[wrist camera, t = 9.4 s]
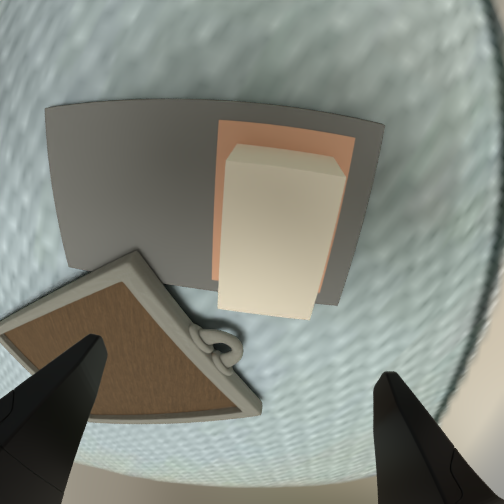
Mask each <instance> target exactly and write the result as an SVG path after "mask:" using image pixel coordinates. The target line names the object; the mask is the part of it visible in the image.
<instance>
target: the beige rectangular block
mask: <svg viewBox="0 0 504 504" xmlns="http://www.w3.org/2000/svg"><path fill="white" fill-rule="evenodd" d="M345 181H346V176H345V175H344V173H343V171H342V170H341V168H340V166H339V165H338V163H337V162H336V160H335V158H334V157H331V156H325V155H319V154H313V153H307V152H300V151H294V150H287V149H279V148H272V147H264V146H255V145H246V144H237V145H236V146H235V148H234V149H233V151H232V152H231V153H230V155H229V157H228V158H227V160H226V164H225V178H224V193H223V209H222V225H221V244H220V263H219V285H218V309H224V310H231V311H238V312H246V313H253V314H261V315H269V316H277V317H286V318H294V319H304V320H310V317H311V314H312V310H313V307H314V304H315V300H316V297H317V293H318V290H319V286H320V283H321V279H322V275H323V272H324V268H325V264H326V260H327V257H328V253H329V249H330V245H331V241H332V237H333V233H334V229H335V225H336V221H337V216H338V212H339V208H340V203H341V199H342V195H343V190H344V186H345Z"/></svg>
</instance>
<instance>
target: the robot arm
mask: <svg viewBox="0 0 504 504" xmlns="http://www.w3.org/2000/svg"><path fill="white" fill-rule="evenodd" d="M107 356H108V353H107V349H106V346H105V344H104V341H103V338H102V337H101V336H100V335H96V334H88V335H87V336H85V337H84V338H83V339H81V340H80V341H78V342H77V343H76V344H74V345H73V346H71V347H70V348H69V349H67V350H66V351H65V352H63V353H62V354H60V355H59V356H58V357H56V358H55V359H54V360H52V361H51V362H50V363H48V364H47V365H45V366H44V367H43V368H41V369H40V370H39V371H37V372H36V373H35V374H33V375H32V376H31V377H29V378H28V379H27V380H25V381H24V382H23V383H21V384H20V385H19V386H17V387H16V388H15V389H14V390H12V391H10V392H9V393H8V394H7V395H5V396H4V397H2V398H1V399H0V504H61V502H62V499H63V495H64V491H65V488H66V484H67V481H68V478H69V474H70V471H71V468H72V465H73V462H74V459H75V456H76V453H77V450H78V447H79V444H80V441H81V438H82V435H83V432H84V429H85V427H86V424H87V421H88V418H89V416H90V413H91V410H92V408H93V405H94V402H95V400H96V397H97V394H98V390H99V386H100V382H101V379H102V375H103V371H104V368H105V364H106V361H107ZM373 434H374V446H375V457H376V471H377V486H378V504H504V500H503V499H501V498H500V497H498V496H497V495H496V494H495V493H494V492H493V491H492V490H491V489H490V488H489V487H488V486H487V485H486V484H485V482H484V481H482V479H481V478H480V477H479V476H478V475H477V474H476V473H475V472H474V470H473V469H472V468H471V467H470V466H469V465H468V464H467V462H466V461H465V460H464V458H463V457H462V456H461V454H460V453H459V452H458V450H457V449H456V448H454V445H453V444H452V443H451V441H450V440H449V439H448V437H447V436H446V435H445V433H444V432H443V431H442V429H441V428H440V427H439V425H438V424H437V423H436V422H435V420H434V419H433V418H432V416H431V415H430V414H429V413H428V411H427V410H426V409H425V407H424V406H423V405H422V404H421V402H420V401H419V400H418V399H417V397H416V396H415V395H414V393H413V392H412V391H411V390H410V388H409V387H408V386H407V385H406V383H405V382H404V381H403V380H402V378H401V377H400V376H399V375H398V374H397V373H396V372H394V371H386V372H384V373H383V374H382V375H381V377H380V378H379V380H378V381H377V383H376V384H375V386H374V390H373Z"/></svg>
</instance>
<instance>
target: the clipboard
mask: <svg viewBox="0 0 504 504" xmlns="http://www.w3.org/2000/svg"><path fill="white" fill-rule="evenodd" d="M88 334H96V335H100V336H101V337H102V338H103V341H104V344H105V346H106V349H107V353H108V356H107V361H106V364H105V368H104V371H103V375H102V379H101V382H100V386H99V390H98V394H97V397H96V400H95V402H94V405H93V408H92V410H91V413H90V416H89V418H88V422H93V423H112V424H171V423H191V422H205V421H217V420H227V419H236V418H244V417H252V416H258V415H261V413H262V402H261V400H260V399H259V398H258V397H257V396H256V395H255V394H254V393H253V392H252V391H251V389H250V388H249V387H248V386H247V385H246V384H245V383H244V382H243V381H242V380H241V378H240V377H239V376H238V375H237V374H236V373H235V372H234V371H233V367H232V366H233V365H234V364H236V363H237V362H238V361H239V360H240V359H241V358H242V356H243V346H242V344H241V342H240V340H239V339H238V338H237V337H235V336H234V335H232V334H230V333H227V332H224V331H221V330H214V329H202V328H201V327H200V326H198V325H196V324H193V322H192V321H191V320H190V319H189V317H188V316H187V315H186V314H185V312H184V311H183V310H182V309H181V307H180V306H179V305H178V304H177V302H176V301H175V300H174V299H173V297H172V296H171V295H170V293H169V292H168V291H167V289H166V288H165V287H164V286H163V284H162V283H161V282H160V280H159V279H158V278H157V276H156V275H155V274H154V272H153V271H152V270H151V268H150V267H149V265H148V264H147V263H146V261H145V260H144V259H143V257H142V256H141V255H140V253H139V252H138V251H134V252H132V253H130V254H127V255H125V256H123V257H121V258H119V259H117V260H115V261H113V262H111V263H109V264H107V265H105V266H103V267H101V268H99V269H97V270H95V271H93V272H91V273H89V274H87V275H85V276H83V277H81V278H79V279H77V280H75V281H73V282H72V283H70V284H68V285H66V286H64V287H62V288H60V289H58V290H56V291H54V292H52V293H51V294H49V295H47V296H45V297H43V298H41V299H39V300H38V301H36V302H34V303H32V304H30V305H28V306H27V307H25V308H23V309H21V310H19V311H18V312H16V313H14V314H12V315H10V316H9V317H7V318H5V319H3V320H2V321H0V343H1V344H2V345H3V346H4V347H5V348H6V349H7V350H8V351H9V352H10V354H11V355H12V356H13V357H14V358H15V359H16V360H17V361H18V362H19V363H20V364H21V365H22V366H23V367H24V368H25V369H26V370H27V371H29V372H30V373H31V374H32V375H33V374H35V373H36V372H37V371H39V370H40V369H41V368H43V367H44V366H45V365H47V364H48V363H50V362H51V361H52V360H54V359H55V358H56V357H58V356H59V355H60V354H62V353H63V352H65V351H66V350H67V349H69V348H70V347H71V346H73V345H74V344H76V343H77V342H78V341H80V340H81V339H83V338H84V337H85V336H87V335H88ZM215 343H225V344H227V345H229V346H230V347H231V348H232V350H231V351H229V352H226V353H222V352H220V351H218V350H215V349H214V348H213V344H215Z"/></svg>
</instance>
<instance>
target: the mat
mask: <svg viewBox="0 0 504 504" xmlns="http://www.w3.org/2000/svg"><path fill="white" fill-rule="evenodd" d="M45 123H46V138H47V149H48V159H49V167H50V175H51V182H52V189H53V195H54V201H55V207H56V212H57V218H58V223H59V228H60V232H61V237H62V241H63V246H64V250H65V254H66V258H67V262H68V266H69V267H71V268H76V269H82V270H87V271H92V272H93V271H95V270H97V269H99V268H101V267H103V266H105V265H107V264H109V263H111V262H113V261H115V260H117V259H119V258H121V257H123V256H125V255H127V254H130V253H132V252H134V251H138V252H139V253H140V255H141V256H142V257H143V259H144V260H145V261H146V263H147V264H148V265H149V267H150V268H151V270H152V271H153V272H154V274H155V275H156V276H157V278H158V279H159V280H160V282H161V283H163V284H169V285H176V286H182V287H189V288H196V289H203V290H210V291H217V292H218V285H219V263H220V244H221V225H222V209H223V193H224V178H225V164H226V160H227V158H228V157H229V155H230V153H231V152H232V151H233V149H234V148H235V146H236V145H237V144H246V145H255V146H264V147H272V148H279V149H287V150H294V151H300V152H307V153H313V154H319V155H325V156H331V157H334V158H335V160H336V162H337V163H338V165H339V166H340V168H341V170H342V171H343V173H344V175H345V176H346V181H345V186H344V190H343V195H342V199H341V203H340V208H339V212H338V216H337V221H336V225H335V229H334V233H333V237H332V241H331V245H330V249H329V253H328V257H327V260H326V264H325V268H324V272H323V275H322V279H321V283H320V286H319V290H318V293H317V297H316V300H315V303H316V304H325V305H335V306H338V303H339V300H340V297H341V294H342V291H343V288H344V285H345V282H346V278H347V275H348V272H349V269H350V266H351V262H352V259H353V256H354V252H355V249H356V245H357V242H358V238H359V235H360V231H361V228H362V224H363V220H364V216H365V213H366V209H367V205H368V201H369V197H370V193H371V189H372V184H373V180H374V176H375V172H376V167H377V163H378V158H379V153H380V148H381V144H382V139H383V133H384V128H385V125H383V124H380V123H376V122H372V121H367V120H363V119H358V118H353V117H348V116H343V115H338V114H333V113H327V112H321V111H315V110H309V109H302V108H295V107H288V106H280V105H272V104H263V103H252V102H241V101H227V100H208V99H131V100H113V101H99V102H88V103H78V104H70V105H62V106H55V107H49V108H45Z"/></svg>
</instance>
